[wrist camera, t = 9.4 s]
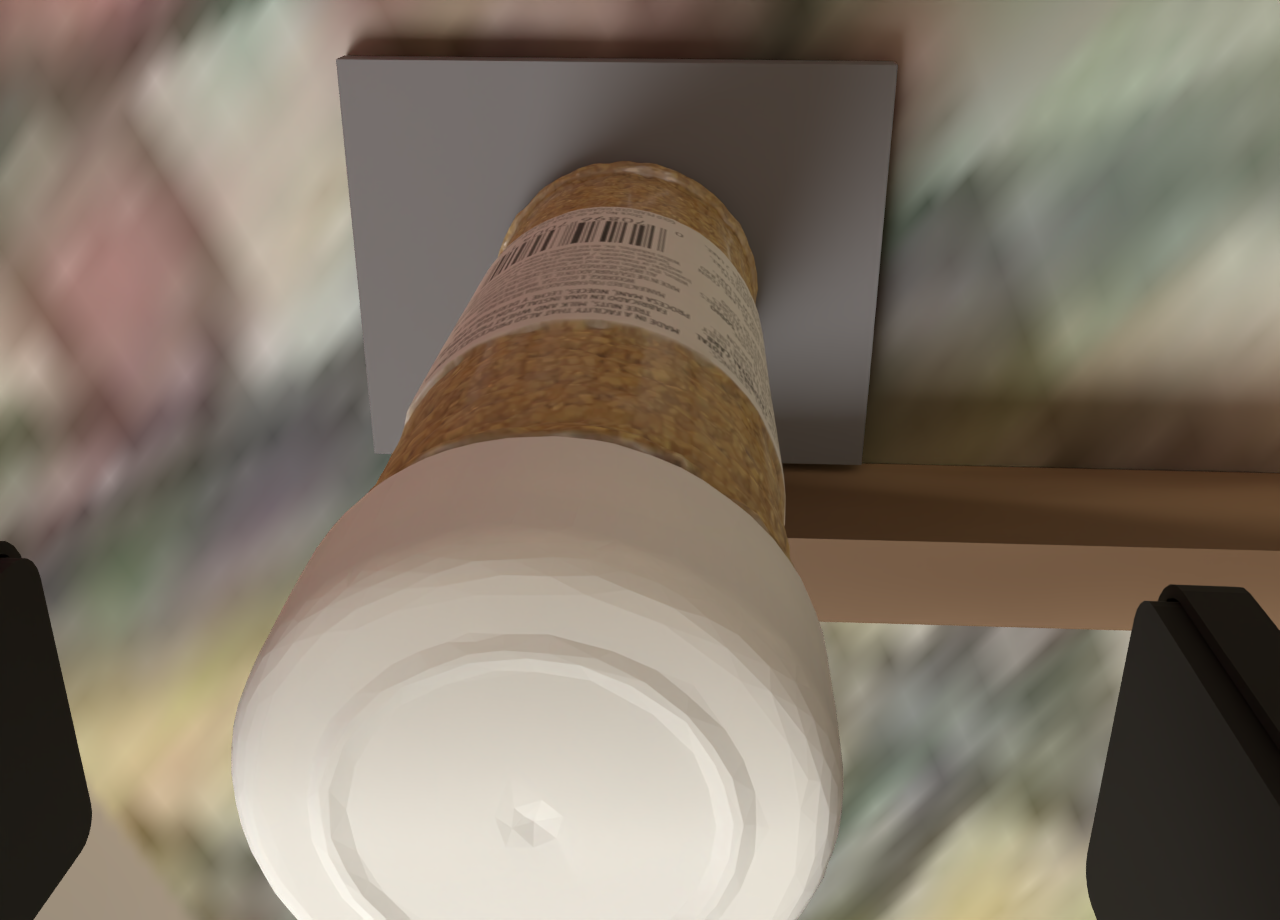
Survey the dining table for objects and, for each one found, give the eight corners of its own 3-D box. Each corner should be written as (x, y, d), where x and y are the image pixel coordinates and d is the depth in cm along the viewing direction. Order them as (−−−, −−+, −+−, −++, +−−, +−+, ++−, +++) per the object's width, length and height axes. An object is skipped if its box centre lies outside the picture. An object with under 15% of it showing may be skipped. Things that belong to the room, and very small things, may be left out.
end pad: (858, 453, 22) (861, 464, 22) (381, 442, 23) (374, 453, 22) (893, 61, 19) (897, 65, 19) (344, 55, 20) (335, 59, 19)
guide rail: (1408, 552, 23) (1503, 640, 20) (515, 529, 23) (491, 611, 21) (1432, 477, 22) (1534, 558, 19) (512, 455, 23) (486, 530, 20)
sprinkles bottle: (494, 395, 22) (228, 1026, 10) (502, 139, 20) (185, 516, 8) (746, 419, 22) (803, 1081, 9) (779, 164, 20) (905, 585, 8)
